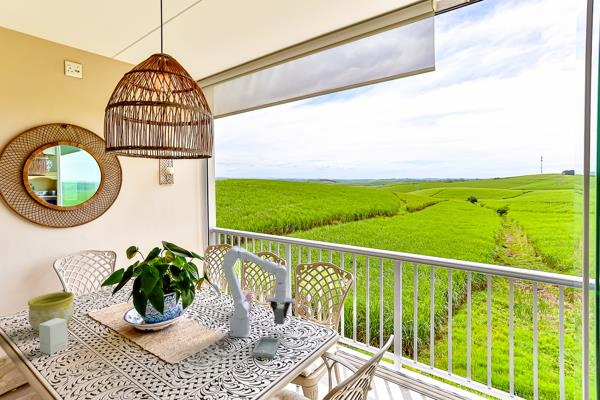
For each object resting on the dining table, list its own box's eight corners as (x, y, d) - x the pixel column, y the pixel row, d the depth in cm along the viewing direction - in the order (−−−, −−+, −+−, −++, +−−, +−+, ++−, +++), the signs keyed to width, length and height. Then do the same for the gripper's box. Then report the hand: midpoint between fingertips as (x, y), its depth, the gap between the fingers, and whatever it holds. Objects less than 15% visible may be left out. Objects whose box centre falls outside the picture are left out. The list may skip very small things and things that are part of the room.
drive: (274, 323, 144) (274, 309, 143) (278, 316, 151) (278, 303, 151) (283, 324, 143) (283, 309, 143) (286, 317, 151) (286, 303, 150)
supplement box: (68, 346, 134) (67, 319, 134) (50, 355, 127) (49, 326, 127) (57, 343, 137) (56, 317, 136) (39, 351, 130) (38, 324, 129)
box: (244, 316, 167) (244, 296, 166) (235, 315, 168) (235, 295, 167) (251, 309, 177) (251, 290, 176) (242, 308, 178) (242, 289, 178)
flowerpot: (27, 341, 138) (26, 307, 137) (29, 328, 152) (28, 297, 151) (75, 330, 150) (75, 298, 149) (73, 318, 163) (72, 289, 163)
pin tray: (251, 357, 126) (251, 349, 126) (261, 339, 141) (261, 332, 141) (272, 359, 125) (272, 351, 125) (280, 341, 140) (280, 334, 140)
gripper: (264, 291, 144) (264, 319, 144) (293, 293, 141) (293, 321, 142) (268, 287, 151) (268, 313, 151) (295, 288, 148) (295, 315, 149)
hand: (280, 316), depth 147 cm, fingers closed on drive, 4 cm apart
